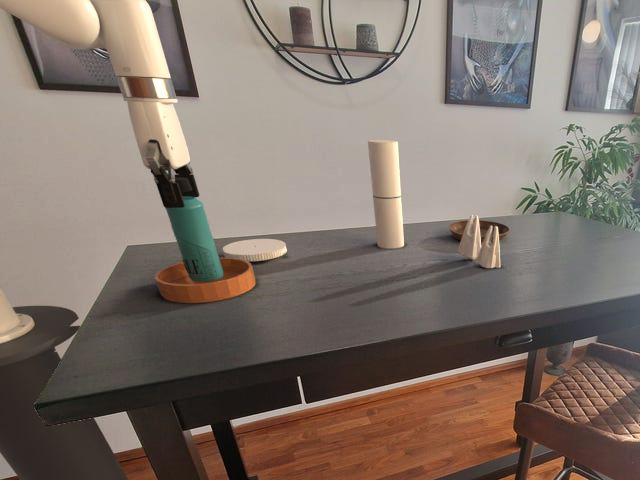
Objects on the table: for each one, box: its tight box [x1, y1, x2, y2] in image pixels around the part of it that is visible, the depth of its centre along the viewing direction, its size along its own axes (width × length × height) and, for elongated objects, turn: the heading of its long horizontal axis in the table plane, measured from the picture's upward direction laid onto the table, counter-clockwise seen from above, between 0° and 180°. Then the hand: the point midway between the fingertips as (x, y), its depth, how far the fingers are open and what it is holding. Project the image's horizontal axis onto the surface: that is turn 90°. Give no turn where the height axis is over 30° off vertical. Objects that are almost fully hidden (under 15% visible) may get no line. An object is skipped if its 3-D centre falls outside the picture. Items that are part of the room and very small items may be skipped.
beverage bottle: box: [164, 178, 224, 282], centre depth 85 cm, size 6×7×20 cm
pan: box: [154, 257, 257, 304], centre depth 90 cm, size 17×17×4 cm
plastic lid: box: [221, 238, 288, 262], centre depth 108 cm, size 14×14×2 cm
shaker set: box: [457, 214, 501, 269], centre depth 107 cm, size 12×4×11 cm, turn 44°
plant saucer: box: [448, 219, 511, 245], centre depth 129 cm, size 18×18×3 cm
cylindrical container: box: [367, 139, 405, 250], centre depth 114 cm, size 7×7×25 cm
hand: (183, 201), depth 82 cm, fingers open, 9 cm apart
